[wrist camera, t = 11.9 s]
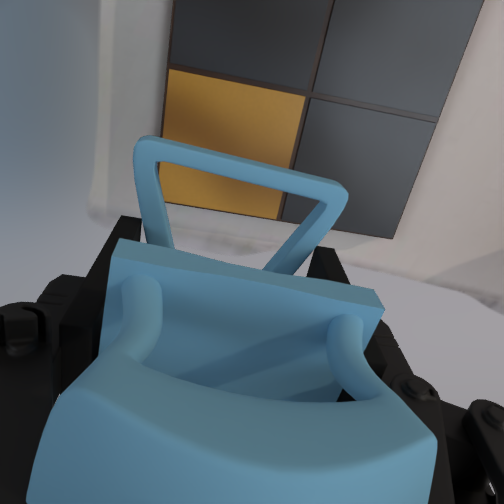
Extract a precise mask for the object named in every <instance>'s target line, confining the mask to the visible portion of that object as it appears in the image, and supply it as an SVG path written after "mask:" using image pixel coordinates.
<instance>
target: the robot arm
mask: <svg viewBox="0 0 504 504" xmlns="http://www.w3.org/2000/svg"><path fill="white" fill-rule="evenodd" d="M141 224H142V219H141V218H135V217H129V216H122V215H121V217H120V218H119V220H118V222H117V224H116V225H115V227H114V229H113V231H112V232H111V234H110V236H109V238H108V240H107V241H106V243H105V245H104V247H103V248H102V250H101V252H100V253H99V255H98V257H97V259H96V261H95V262H94V264H93V266H92V267H91V269H90V271H89V273H88V274H87V276H86V277H79V276H72V275H64V274H62V275H61V276H59V277H57V278H56V279H54V280H52V281H51V282H49V284H48V285H47V287H46V288H45V290H44V291H43V293H42V294H41V295H40V297H39V298H38V299H37V302H36V303H33V302H17V303H11V304H7V305H5V306H2V307H0V504H27V503H26V496H27V490H28V486H29V482H30V477H31V473H32V468H33V464H34V460H35V457H36V453H37V450H38V447H39V443H40V440H41V437H42V433H43V431H44V428H45V425H46V423H47V420H48V417H49V415H50V412H51V410H52V408H53V407H54V404H55V402H56V400H57V398H58V396H59V394H60V395H61V394H62V393H63V392H64V391H65V390H66V389H67V388H68V387H69V386H70V385H71V384H72V383H73V382H74V381H75V380H76V379H77V378H78V377H79V376H80V375H81V374H82V373H83V372H84V371H85V370H86V369H87V368H88V367H89V366H90V365H91V364H92V363H93V361H94V360H95V359H96V358H97V357H98V353H99V346H100V338H101V330H102V322H103V314H104V306H105V299H106V291H107V284H108V277H109V270H110V263H111V256H112V254H113V252H114V249H115V247H116V245H117V243H118V240H119V238H122V239H127V240H132V241H137V242H140V236H141ZM306 277H309V278H316V279H323V280H330V281H334V282H339V283H344V284H349V285H351V284H350V282H349V280H348V278H347V276H346V274H345V271H344V270H343V267H342V265H341V263H340V261H339V258H338V256H337V254H336V252H335V250H334V249H333V248H327V247H321V246H316V248H315V249H314V253H313V256H312V259H311V263H310V266H309V270H308V273H307V276H306ZM398 346H399V345H398V343H397V342H396V340H395V339H394V336H393V334H392V332H391V330H390V328H389V327H388V325H386V324H385V323H384V322H383V321H382V320H381V319H380V321H379V323H378V325H377V327H376V329H375V331H374V333H373V335H372V337H371V339H370V340H369V342H368V344H367V346H366V348H365V350H364V352H363V354H364V357H365V359H366V361H367V363H368V364H369V366H370V368H371V369H372V370H373V371H374V373H375V374H376V375H377V376H378V377H379V378H380V379H381V380H382V381H383V382H384V383H385V384H386V385H387V386H388V387H389V388H390V389H391V390H392V391H394V392H395V393H396V394H397V395H398V396H399V397H400V398H401V399H402V400H403V401H404V403H405V404H406V405H407V406H408V407H409V408H410V409H411V410H412V411H413V412H414V413H415V415H416V416H417V417H418V418H419V419H420V420H421V421H422V422H423V423H424V424H425V425H426V426H427V427H428V429H429V430H430V431H431V432H432V433H433V434H434V435H435V437H436V439H437V454H436V461H435V467H434V472H433V478H432V483H431V489H430V494H429V500H428V504H504V407H502V406H500V405H498V404H496V403H494V402H491V401H488V400H480V399H479V400H478V399H477V400H475V401H473V402H472V403H471V405H470V406H469V408H468V410H466V409H464V408H461V407H458V406H455V405H453V404H450V403H447V402H444V401H442V400H440V397H439V395H438V392H437V391H436V390H435V389H434V387H433V386H432V385H431V384H429V383H428V382H427V381H425V380H424V379H422V378H420V377H418V376H416V375H414V374H413V372H412V370H411V368H410V366H409V365H408V363H407V361H406V359H405V357H404V355H403V353H402V351H401V349H400V348H398ZM349 401H356V400H355V399H354V398H353V397H352V396H351V395H350V394H348V393H347V392H346V391H345V390H344V389H342V391H341V393H340V395H339V397H338V399H337V401H336V402H349ZM490 482H491V484H492V486H493V489H494V492H495V494H494V493H493V491H492V490H491V487H490V485H489V483H490Z"/></svg>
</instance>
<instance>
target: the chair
mask: <svg viewBox="0 0 504 504" xmlns="http://www.w3.org/2000/svg"><path fill="white" fill-rule="evenodd" d="M162 161H165V162H169V163H173V164H177V165H181V166H185V167H189V168H193V169H197V170H201V171H205V172H209V173H213V174H217V175H220V176H224V177H228V178H232V179H236V180H240V181H244V182H248V183H252V184H256V185H260V186H264V187H268V188H272V189H276V190H280V191H284V192H288V193H292V194H296V195H300V196H304V197H308V198H311V199H315V200H319V201H320V202H319V203H318V204H317V205H316V207H315V208H314V209H313V210H312V211H311V213H310V214H309V215H308V216H307V217H306V219H305V220H304V221H303V222H302V223H301V224H300V226H299V227H298V228H297V229H296V230H295V231H294V233H293V234H292V235H291V236H290V237H289V238H288V240H287V241H286V242H285V243H284V244H283V246H282V247H281V248H280V249H279V250H278V251H277V253H276V254H275V255H274V256H273V257H272V259H271V260H270V261H269V262H268V263H267V264H266V266H265V267H264V268H263V269H262V270H259V269H255V268H250V267H245V266H240V265H235V264H230V263H226V262H222V261H218V260H214V259H210V258H206V257H202V256H198V255H195V254H191V253H188V252H184V251H180V250H176V249H175V248H174V243H173V238H172V234H171V229H170V225H169V220H168V216H167V211H166V207H165V202H164V198H163V193H162V188H161V184H160V179H159V174H158V169H157V162H162ZM133 167H134V179H135V185H136V190H137V196H138V201H139V207H140V212H141V217H142V222H143V226H144V231H145V236H146V241H147V243H142V242H137V241H132V240H127V239H122V238H119V240H118V243H117V245H116V247H115V249H114V252H113V254H112V256H111V263H110V270H109V277H108V284H107V291H106V299H105V306H104V314H103V322H102V330H101V338H100V346H99V353H98V357H97V358H96V359H95V360H94V361H93V363H92V364H91V365H90V366H89V367H88V368H87V369H86V370H85V371H84V372H83V373H82V374H81V375H80V376H79V377H78V378H77V379H76V380H75V381H74V382H73V383H72V384H71V385H70V386H69V387H68V388H67V389H66V390H65V391H64V392H63V393H62V394H61V395H60V396H59V397H58V399H57V401H56V403H55V405H54V407H53V408H52V410H51V412H50V415H49V417H48V420H47V423H46V425H45V428H44V431H43V433H42V437H41V440H40V443H39V447H38V450H37V453H36V457H35V460H34V464H33V468H32V473H31V477H30V482H29V486H28V490H27V496H26V503H27V504H428V500H429V494H430V489H431V483H432V478H433V472H434V467H435V461H436V454H437V439H436V437H435V435H434V434H433V433H432V432H431V431H430V430H429V429H428V427H427V426H426V425H425V424H424V423H423V422H422V421H421V420H420V419H419V418H418V417H417V416H416V415H415V413H414V412H413V411H412V410H411V409H410V408H409V407H408V406H407V405H406V404H405V403H404V401H403V400H402V399H401V398H400V397H399V396H398V395H397V394H396V393H395V392H394V391H392V390H391V389H390V388H389V387H388V386H387V385H386V384H385V383H384V382H383V381H382V380H381V379H380V378H379V377H378V376H377V375H376V374H375V373H374V371H373V370H372V369H371V368H370V366H369V364H368V363H367V361H366V359H365V357H364V354H363V352H364V350H365V348H366V346H367V344H368V342H369V340H370V339H371V337H372V335H373V333H374V331H375V329H376V327H377V325H378V323H379V321H380V319H381V317H382V315H383V313H384V311H385V308H384V307H383V305H382V303H381V302H380V300H379V298H378V296H377V294H376V293H375V291H374V290H373V289H369V288H364V287H359V286H354V285H349V284H344V283H339V282H334V281H330V280H323V279H316V278H309V277H301V276H294V275H293V274H294V273H295V272H296V271H297V269H298V268H299V267H300V266H301V265H302V263H303V262H304V261H305V259H306V258H307V257H308V256H309V255H310V254H311V252H312V251H313V250H314V249H315V248H316V246H317V245H318V244H319V243H320V241H321V240H322V239H323V237H324V236H325V235H326V234H327V232H328V231H329V230H330V229H331V227H332V226H333V225H334V223H335V222H336V220H337V219H338V217H339V216H340V214H341V213H342V211H343V210H344V207H345V205H346V203H347V201H348V192H347V191H346V189H345V188H344V187H343V186H342V185H341V184H340V183H338V182H337V181H334V180H331V179H327V178H323V177H319V176H315V175H311V174H306V173H302V172H298V171H294V170H290V169H286V168H282V167H278V166H274V165H270V164H266V163H262V162H258V161H254V160H250V159H246V158H242V157H238V156H233V155H229V154H225V153H221V152H217V151H213V150H209V149H205V148H201V147H197V146H193V145H189V144H185V143H181V142H177V141H173V140H169V139H165V138H160V137H156V136H152V135H147V136H143V137H141V138H140V139H139V140H138V141H137V143H136V145H135V146H134V152H133ZM342 389H344V390H345V391H346V392H347V393H348V394H350V395H351V396H352V397H353V398H354V399H355V400H356V401H349V402H336V401H337V399H338V397H339V395H340V393H341V391H342Z"/></svg>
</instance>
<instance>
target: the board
mask: <svg viewBox="0 0 504 504" xmlns="http://www.w3.org/2000/svg"><path fill="white" fill-rule="evenodd" d="M483 2H484V0H173V8H172V19H171V29H170V40H169V50H168V61H167V71H166V82H165V92H164V103H163V113H162V124H161V134H160V138H165V139H169V140H173V141H177V142H181V143H185V144H189V145H193V146H197V147H201V148H205V149H209V150H213V151H217V152H221V153H225V154H229V155H233V156H238V157H242V158H246V159H250V160H254V161H258V162H262V163H266V164H270V165H274V166H278V167H282V168H286V169H290V170H294V171H298V172H302V173H306V174H311V175H315V176H319V177H323V178H327V179H331V180H334V181H337V182H338V183H340V184H341V185H342V186H343V187H344V188H345V189H346V191H347V192H348V201H347V203H346V205H345V207H344V210H343V211H342V213H341V214H340V216H339V217H338V219H337V220H336V222H335V223H334V225H333V226H332V227H331V230H337V231H344V232H350V233H356V234H362V235H368V236H374V237H381V238H387V239H393V237H394V235H395V232H396V229H397V227H398V224H399V222H400V219H401V216H402V214H403V211H404V209H405V206H406V203H407V201H408V198H409V195H410V193H411V190H412V188H413V185H414V182H415V180H416V177H417V175H418V172H419V169H420V167H421V164H422V162H423V159H424V156H425V154H426V151H427V149H428V146H429V143H430V141H431V138H432V135H433V133H434V130H435V128H436V125H437V122H438V120H439V117H440V115H441V112H442V109H443V107H444V104H445V102H446V99H447V96H448V94H449V91H450V89H451V86H452V83H453V81H454V78H455V75H456V73H457V70H458V68H459V65H460V62H461V60H462V57H463V55H464V52H465V49H466V47H467V44H468V42H469V39H470V36H471V34H472V31H473V29H474V26H475V23H476V21H477V18H478V15H479V13H480V10H481V8H482V5H483ZM157 169H158V174H159V179H160V184H161V188H162V193H163V198H164V202H165V203H171V204H177V205H183V206H189V207H196V208H202V209H208V210H214V211H220V212H226V213H233V214H239V215H245V216H251V217H257V218H263V219H270V220H276V221H282V222H288V223H294V224H301V223H302V222H303V221H304V220H305V219H306V217H307V216H308V215H309V214H310V213H311V211H312V210H313V209H314V208H315V207H316V205H317V204H318V203H319V202H320V201H319V200H315V199H311V198H308V197H304V196H300V195H296V194H292V193H288V192H284V191H280V190H276V189H272V188H268V187H264V186H260V185H256V184H252V183H248V182H244V181H240V180H236V179H232V178H228V177H224V176H220V175H217V174H213V173H209V172H205V171H201V170H197V169H193V168H189V167H185V166H181V165H177V164H173V163H169V162H165V161H162V162H158V166H157Z"/></svg>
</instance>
